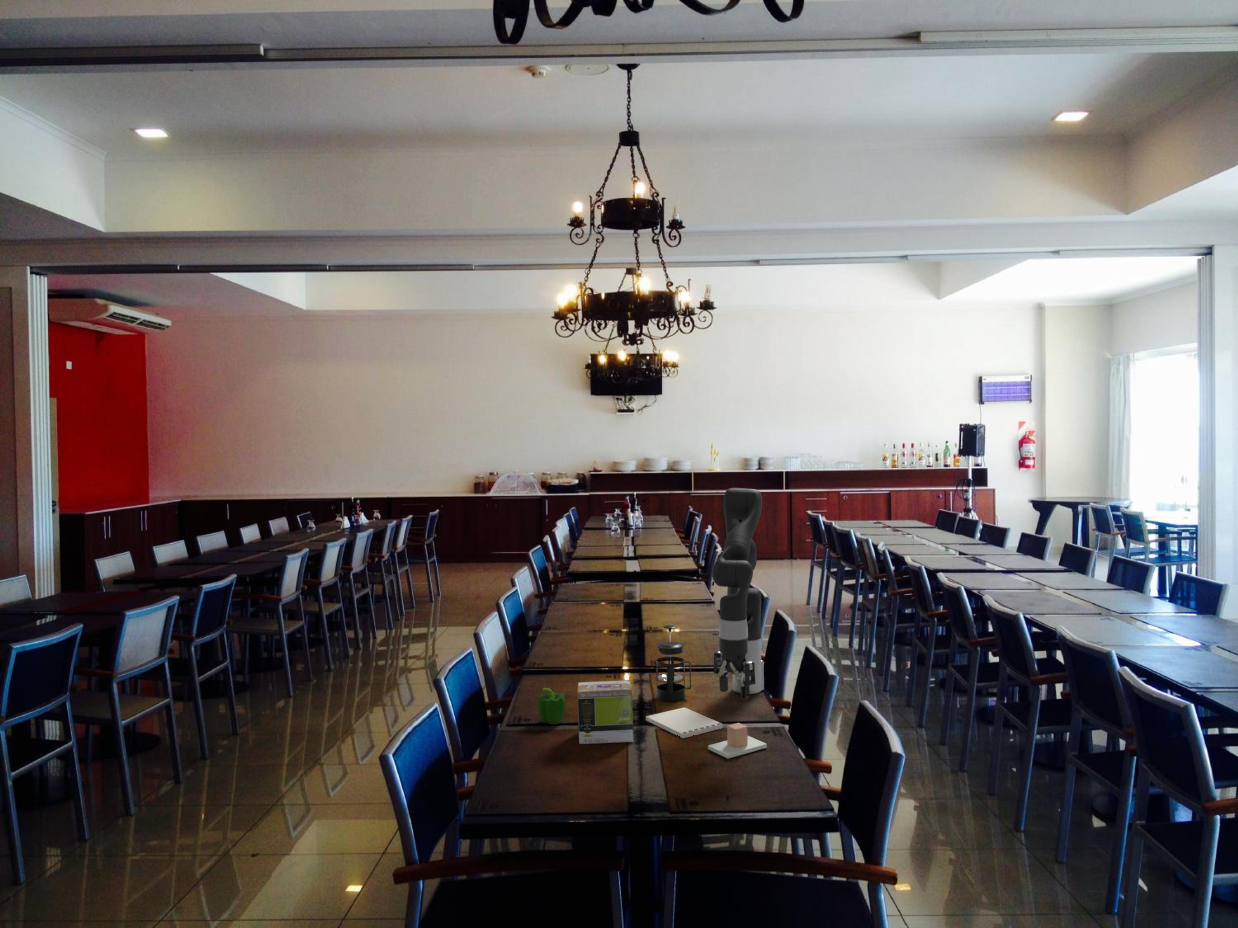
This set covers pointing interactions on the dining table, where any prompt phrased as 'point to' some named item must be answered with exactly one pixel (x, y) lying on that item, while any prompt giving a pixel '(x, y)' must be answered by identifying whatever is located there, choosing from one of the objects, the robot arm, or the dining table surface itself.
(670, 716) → the white notebook
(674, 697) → the french press
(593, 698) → the tea box
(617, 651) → the dining table surface
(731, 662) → the robot arm
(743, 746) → the stub
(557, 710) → the bell pepper
